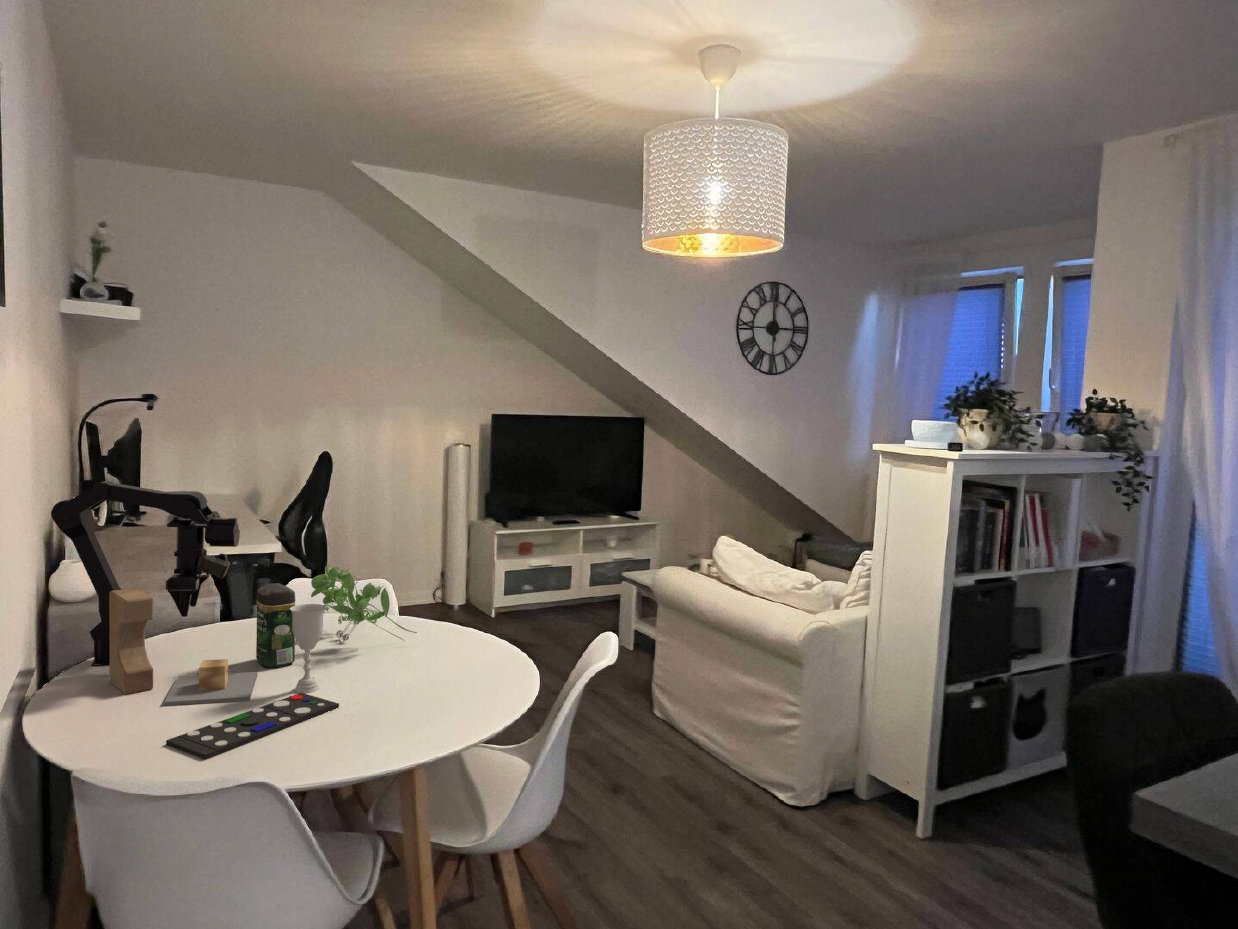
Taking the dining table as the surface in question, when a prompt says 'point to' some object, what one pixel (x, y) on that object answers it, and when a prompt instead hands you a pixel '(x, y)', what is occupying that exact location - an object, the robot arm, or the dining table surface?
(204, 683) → the oak cube
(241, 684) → the charcoal mat
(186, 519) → the robot arm
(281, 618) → the coffee jar
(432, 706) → the dining table surface
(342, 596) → the plant cuttings
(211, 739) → the remote control
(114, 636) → the decorative block
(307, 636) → the chalice
